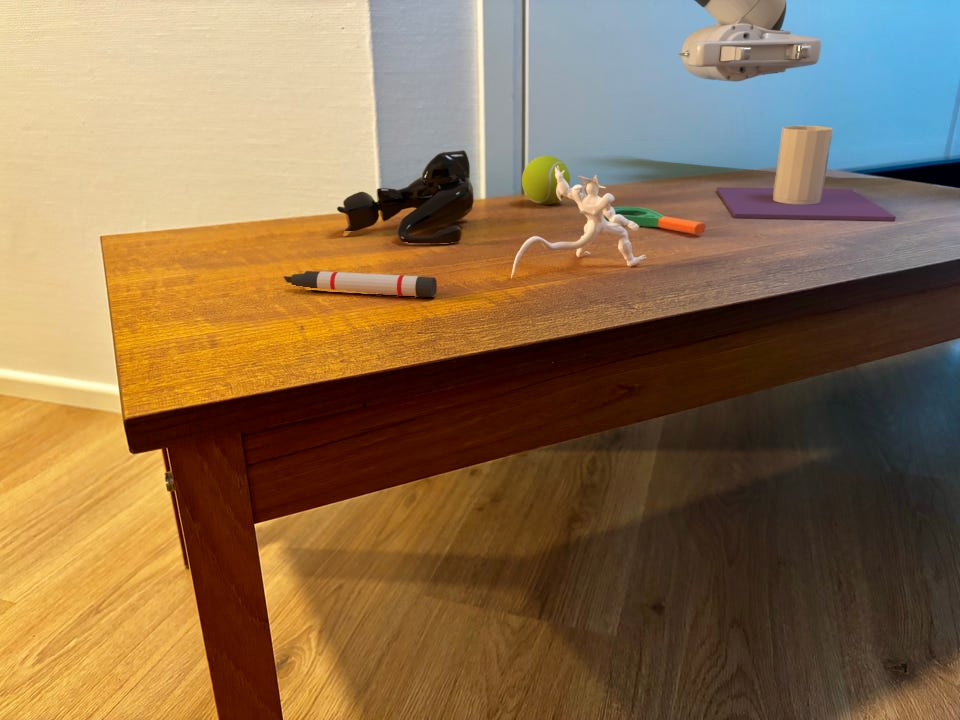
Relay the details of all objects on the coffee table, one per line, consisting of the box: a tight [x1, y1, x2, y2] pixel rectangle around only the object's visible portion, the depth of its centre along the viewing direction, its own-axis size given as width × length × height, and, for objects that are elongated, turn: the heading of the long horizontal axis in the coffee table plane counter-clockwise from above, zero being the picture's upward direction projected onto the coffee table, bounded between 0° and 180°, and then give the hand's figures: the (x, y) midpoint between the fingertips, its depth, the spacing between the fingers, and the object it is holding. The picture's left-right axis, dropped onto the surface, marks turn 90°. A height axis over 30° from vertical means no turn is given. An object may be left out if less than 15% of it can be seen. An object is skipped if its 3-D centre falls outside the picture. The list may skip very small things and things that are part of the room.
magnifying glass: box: [604, 206, 706, 236], centre depth 94 cm, size 15×6×2 cm, turn 35°
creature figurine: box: [510, 165, 647, 280], centre depth 75 cm, size 12×11×12 cm
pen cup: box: [773, 125, 834, 205], centre depth 104 cm, size 6×6×10 cm
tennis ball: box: [521, 155, 571, 206], centre depth 108 cm, size 7×7×7 cm
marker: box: [283, 270, 438, 298], centre depth 70 cm, size 15×2×2 cm, turn 77°
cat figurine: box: [336, 149, 475, 244], centre depth 91 cm, size 10×14×18 cm
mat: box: [716, 186, 897, 222], centre depth 106 cm, size 20×20×1 cm
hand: (776, 52), depth 109 cm, fingers open, 8 cm apart
